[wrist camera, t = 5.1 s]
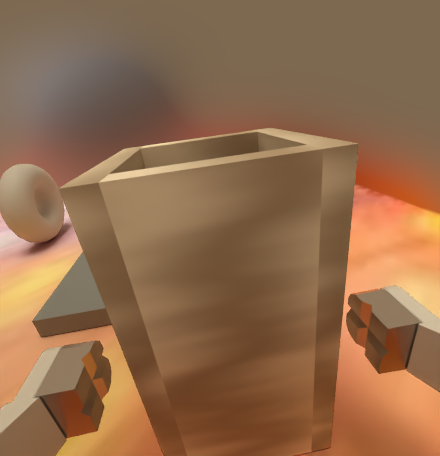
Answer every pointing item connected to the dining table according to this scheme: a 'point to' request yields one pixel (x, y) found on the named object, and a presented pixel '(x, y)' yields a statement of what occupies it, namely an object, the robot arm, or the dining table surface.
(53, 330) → the post board
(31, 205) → the donut
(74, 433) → the robot arm
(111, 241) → the sleeve
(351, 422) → the dining table surface
